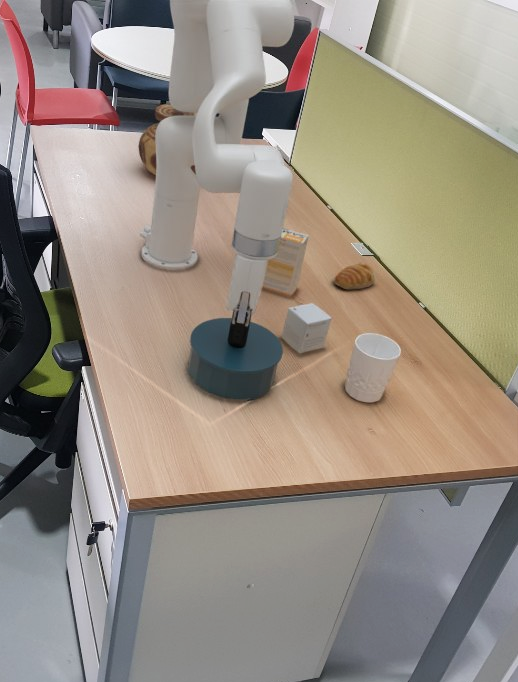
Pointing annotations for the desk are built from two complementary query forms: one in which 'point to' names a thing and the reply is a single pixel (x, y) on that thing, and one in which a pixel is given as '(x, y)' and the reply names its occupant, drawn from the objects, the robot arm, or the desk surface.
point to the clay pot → (148, 137)
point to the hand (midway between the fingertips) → (237, 335)
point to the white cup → (371, 366)
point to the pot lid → (236, 347)
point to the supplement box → (286, 263)
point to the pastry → (355, 277)
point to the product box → (306, 327)
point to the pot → (230, 380)
